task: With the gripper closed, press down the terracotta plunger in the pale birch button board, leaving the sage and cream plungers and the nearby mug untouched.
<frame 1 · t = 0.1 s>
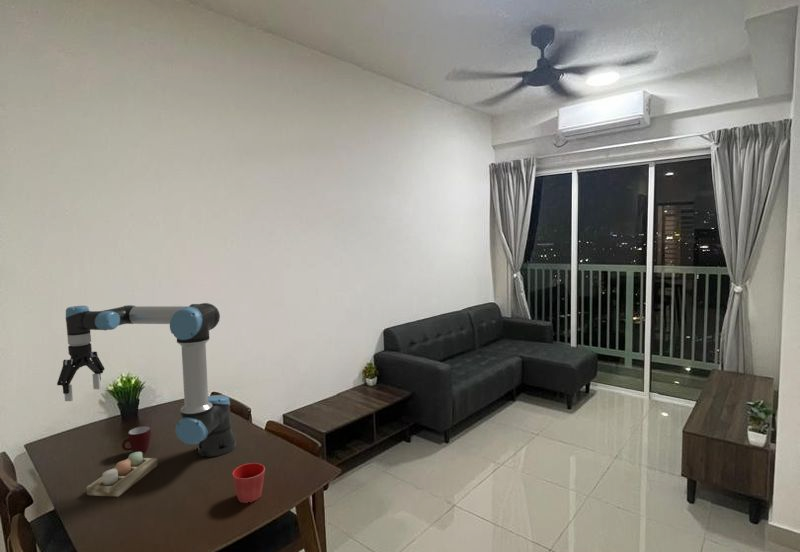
hand: (83, 394, 174), 28 cm above the table, fingers open, 13 cm apart
button sage: (135, 458, 168), point 5 cm above the table, slide at 0.0 cm
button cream: (110, 476, 155), point 5 cm above the table, slide at 0.0 cm
button terracotta: (123, 467, 161), point 5 cm above the table, slide at 0.0 cm
flower pot: (249, 497, 150), on the table
mug: (137, 454, 181), on the table
button board: (124, 479, 162), on the table
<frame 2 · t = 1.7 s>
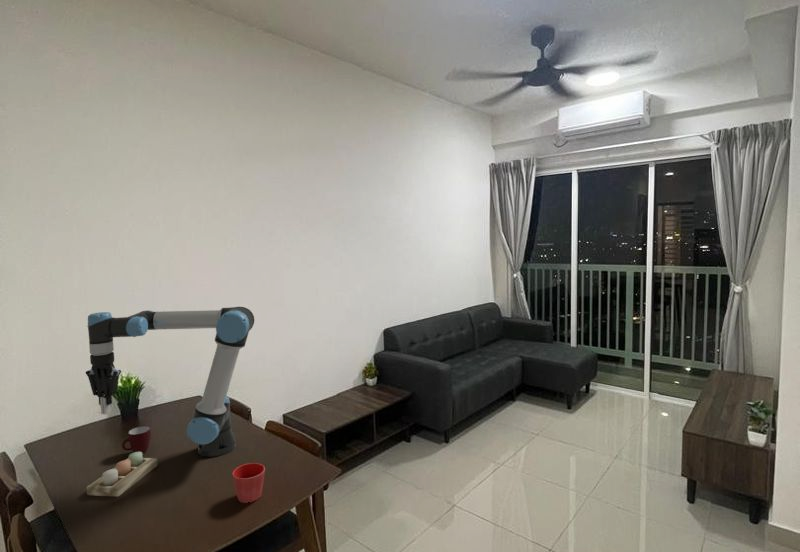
hand: (106, 412, 164), 24 cm above the table, fingers closed
nothing on the table moved.
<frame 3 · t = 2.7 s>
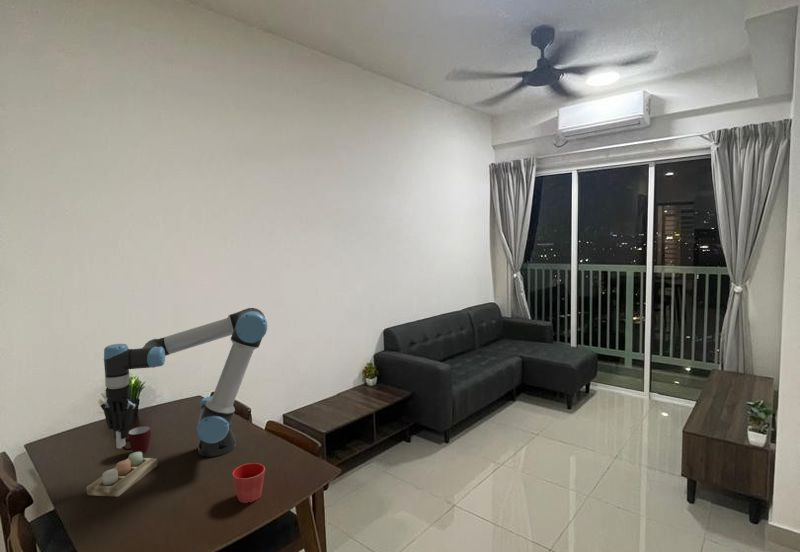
hand: (121, 446, 160), 13 cm above the table, fingers closed
nothing on the table moved.
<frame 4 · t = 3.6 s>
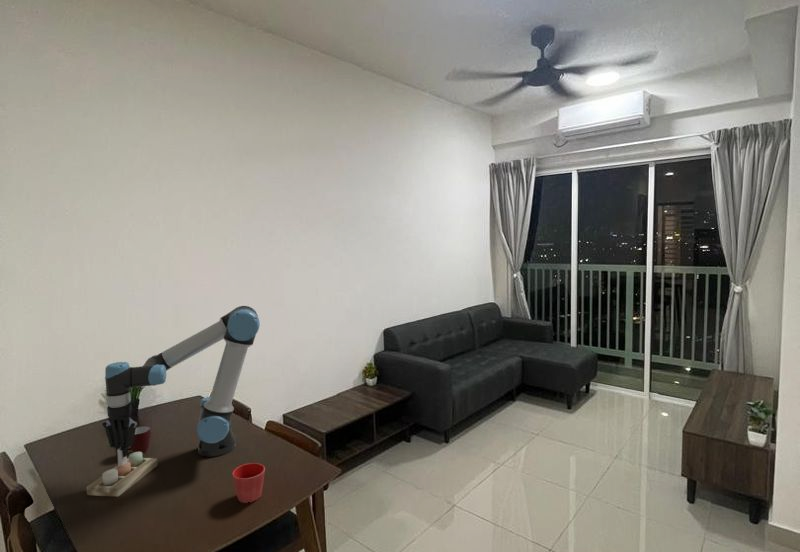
hand: (122, 464, 161), 6 cm above the table, fingers closed
button terracotta: (123, 469, 161), point 4 cm above the table, slide at 0.8 cm, touching gripper
everything else where it was.
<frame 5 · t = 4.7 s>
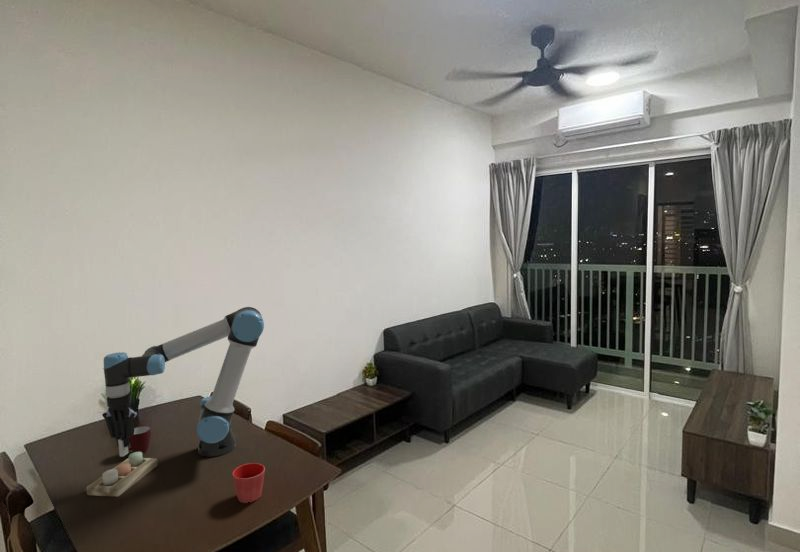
hand: (124, 454, 161), 10 cm above the table, fingers closed
button terracotta: (123, 470, 161), point 3 cm above the table, slide at 1.3 cm
everything else where it was.
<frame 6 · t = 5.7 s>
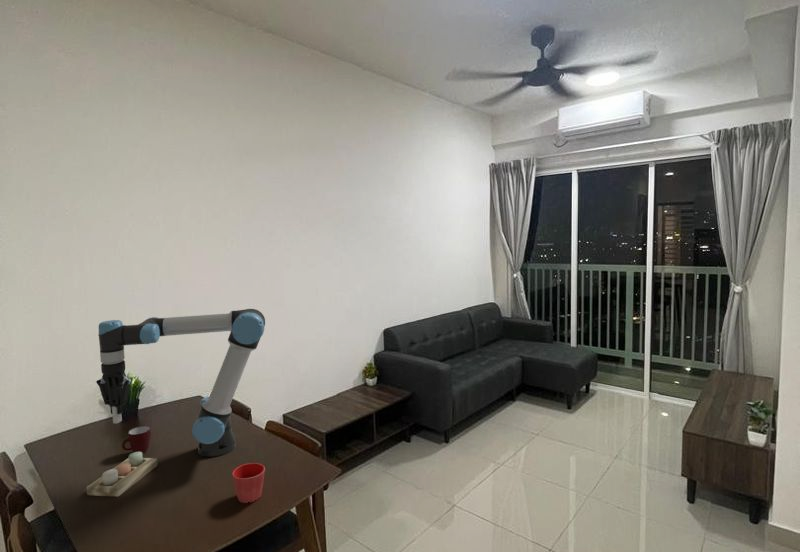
hand: (117, 421, 162), 22 cm above the table, fingers closed
nothing on the table moved.
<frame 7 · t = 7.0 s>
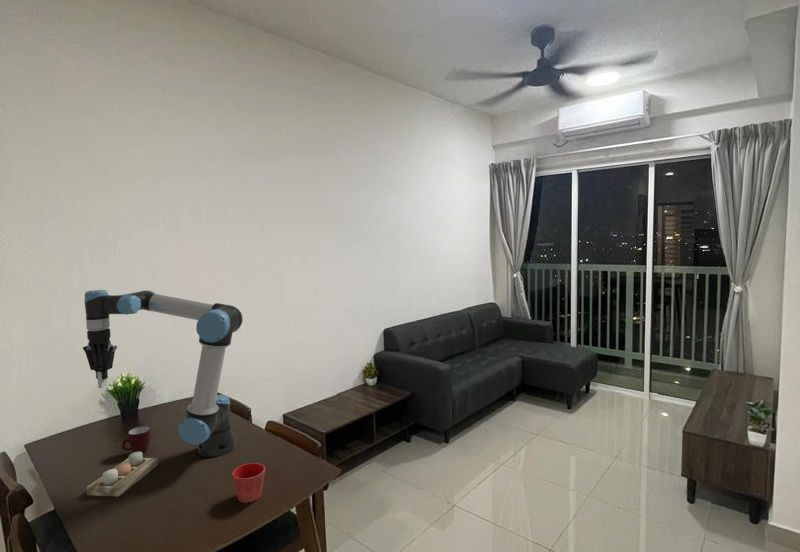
hand: (102, 386, 170), 32 cm above the table, fingers closed
nothing on the table moved.
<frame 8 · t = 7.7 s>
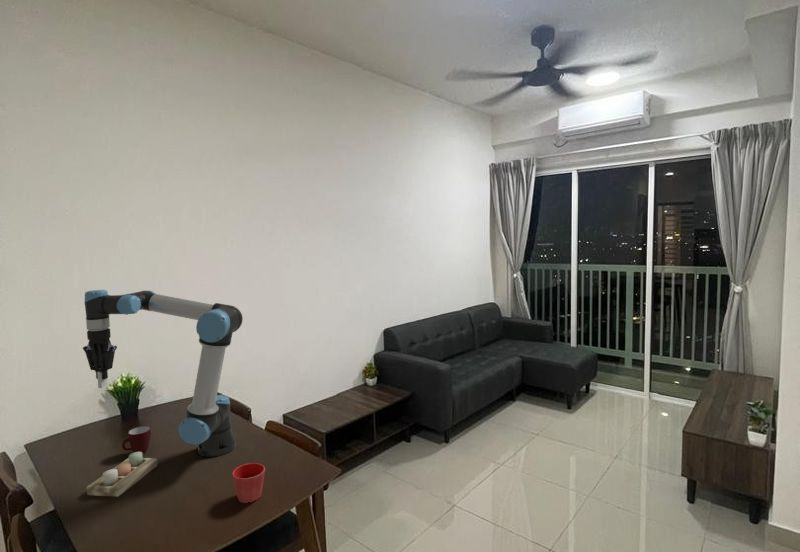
hand: (102, 386, 170), 32 cm above the table, fingers closed
nothing on the table moved.
at the end: button terracotta slide at 1.3 cm; button sage slide at 0.0 cm; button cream slide at 0.0 cm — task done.
